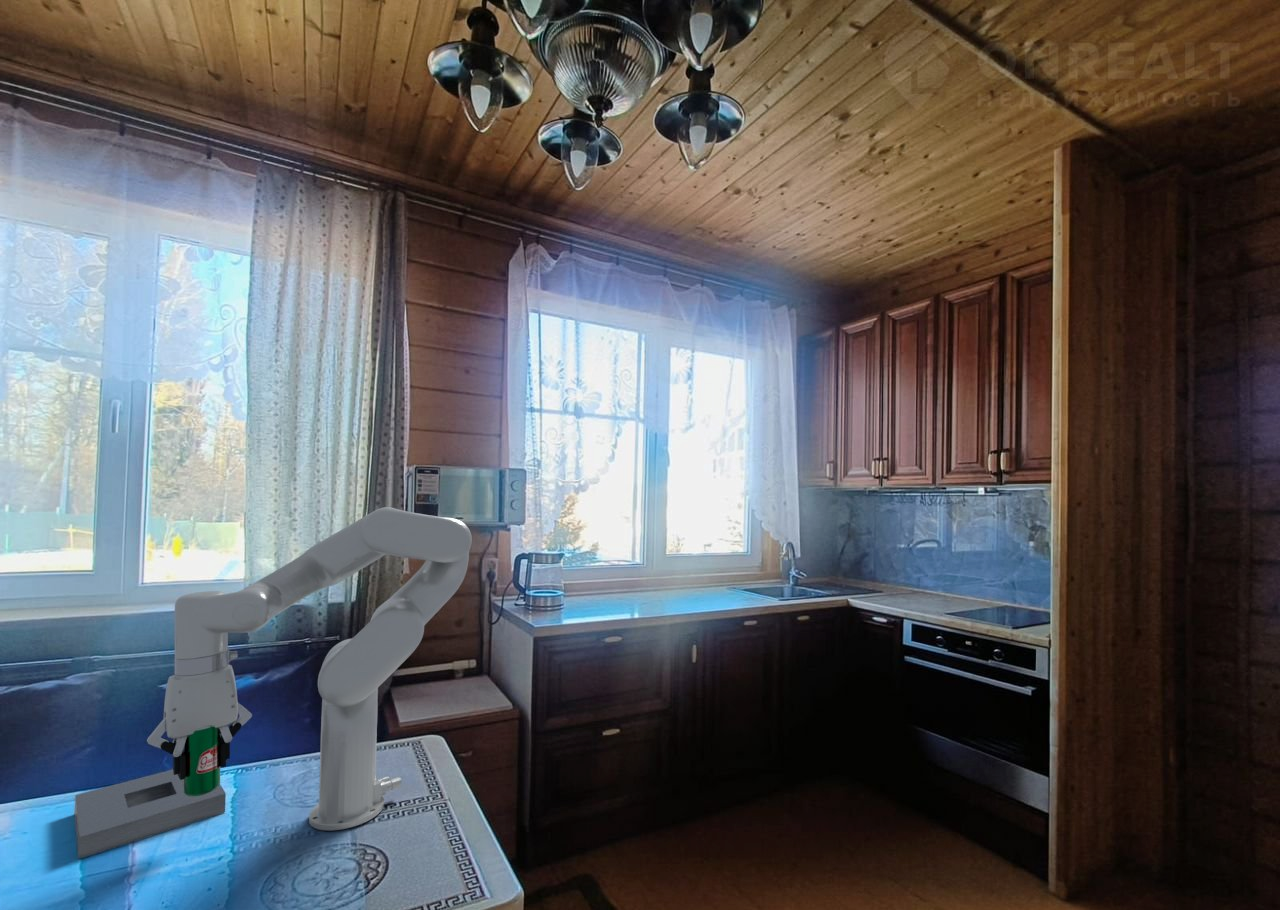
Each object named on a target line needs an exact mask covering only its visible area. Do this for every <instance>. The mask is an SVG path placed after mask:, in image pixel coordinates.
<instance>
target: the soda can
mask: <svg viewBox="0 0 1280 910" xmlns="http://www.w3.org/2000/svg"><path fill="white" fill-rule="evenodd" d="M220 737H221V735H220V729H219V728H215V726H212V725H206V726H202V727H200V728H198V729H197V730H196V731H194V733H193V734H192V735H190V736H187V738H186V742H185V745H184V748H183V750H184V754H185V755H186V778H184V793H185V794H186V795H188V796H200V795H204V794H207V793H209V792H211V791H213V790H215V789H216V788H217V787H218V785H219V784H220V785H221V767H220Z"/></svg>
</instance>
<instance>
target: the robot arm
mask: <svg viewBox="0 0 1280 910" xmlns="http://www.w3.org/2000/svg"><path fill="white" fill-rule="evenodd" d="M472 541H473V538H472V533H471V531H470V528H469V527H468V525H467V524H465V522H463V521H461V520H460V519H456V518H453V517H446V516H445V517H442V516H436V515H431V514H430V515H428V514H423V513H417V512H413V511H412V512H411V511H407V510H402V509H398V508H395V507H390V506H386V507H385V506H384V507H380V508H378V509H375V510H374V511H372V512H370V513H368V514H366V515H365V516H363V517H361V518H359V519H358V520H356V521H354V522H352V523H351V524H349V525H347V526H345V527H344V528H342V529H340V530H339V531H337V532H336V533H335V532H334V533H333V534H332V535H330V536H328V537H326V538H324V539H323V540H321V541H319V542H318V543H316V544H314V545H313V546H311V547H310V548H308V549H307V550H306V551H304V553H302V554H301V555H299V556H298V557H296V558H295V559H293V560H292V561H290V562H289V563H286V564H285V565H283V566H282V567H280V568H278V569H277V570H275V571H273V572H270V573H269V574H267V575H266V576H264V577H262V578H261V579H258V580H257V581H256V582H253V583H252V584H250V585H248V586H246V587H244V588H243V589H241V590H238V591H235V592H231V593H230V592H229V593H225V592H223V591H218V590H213V591H212V590H209V591H207V590H206V591H200V592H199V591H198V592H192V593H187V594H184V595H182V596H180V597H178V598H177V599H176V601H175V603H174V674H173V675H170V676H169V677H168V679H167V683H166V684H167V685H166V688H165V694H164V695H165V696H164V705H163V706H164V707H163V718H162V720H161V721H160V722H159V724H158V725H157V726H156V728H154V730H153V731H152V732H151V734H150V735H149V736H148V737H147V739H146V742H147V744H148V745H151V746H153V747H155V748H158V749H161V750H162V751H165V752H166V753H168V754H170V755H171V756H173V757H172V759H173V760H172V764H173V765H172V769H173V773H174V775H176V774H178V777H179V779H180V780H183V779H184V778H186V755H185V754H184V745H185V742H186V738H187V736H190V735H192V734H193V733H194V731H196V730H197V729H198V728H200V727H202V726H206V725H212V726H215V728H219V729H220V768H225V767H227V760H229V759H230V758H231V746H230V745H231V741H232V740H233V738H234V737H235V735H236V734H237V733H238V732H239V731H240V730H241V728H242V726H244V725H245V724H246V723H247V722H248V721H249V720H250V719H251V718H252V717H253V714H252V713H251V712H250V711H249V710H248V709H247V708H245V707H244V706H243V705H242V704H240V702H238V693H237V692H238V690H237V685H236V684H237V683H236V677H235V672H234V668H233V665H232V664H230V662H231V661H233V660H236V659H238V655H239V654H238V651H237V650H234V651H232V650H230V649H229V645H228V644H229V641H228V640H229V638H228V637H229V633H231V634H232V633H233V634H234V633H235V634H244V633H252V632H253V633H254V632H256V631H258V630H260V629H262V628H264V627H265V626H266V625H268V624H269V622H270V621H271V620H272V619H273V618H274V617H276V616H277V615H279V614H281V613H282V612H284V611H285V610H287V609H289V608H290V607H292V606H293V605H295V604H296V603H299V602H300V601H302V600H304V599H305V598H307V597H309V596H310V595H313V594H314V593H316V592H318V591H320V590H323V589H326V588H328V587H333V586H335V585H338V584H339V583H341V582H343V581H345V580H347V579H348V578H349V577H351V576H353V575H355V574H357V573H358V572H359V571H361V570H363V569H364V568H366V567H368V566H370V565H371V564H372V563H374V562H376V561H377V560H379V559H381V558H382V557H384V556H385V555H387V556H388V555H389V556H393V557H399V558H405V559H413V560H419V561H420V560H421V561H424V563H423V565H422V566H421V567H420V568H419V569H418V570H417V572H415V573H414V574H413V575H412V576H411V578H410V579H408V581H406V583H404V584H403V585H402V587H400V588H399V589H398V590H396V592H394V594H393V595H392V596H390V597H389V598H388V599H387V600H386V601H384V602H383V603H382V604H381V605H379V606H378V607H377V608H376V609H375V610H374V612H373V614H372V616H371V618H370V621H369V622H368V623H367V624H366V625H365V626H364V627H363V628H361V630H359V632H358V633H356V635H354V636H353V637H352V638H347V639H344V640H342V641H340V642H338V643H337V644H335V645H334V646H333V647H331V649H330V650H329V651H328V653H327V654H326V656H325V657H324V659H323V662H322V665H321V667H320V670H319V673H318V678H317V688H318V689H317V690H318V693H319V695H320V697H321V698H322V699H321V700H322V701H321V717H320V718H321V723H320V725H321V726H320V753H319V754H320V755H319V756H320V757H319V786H318V787H319V791H318V793H319V794H318V795H319V796H318V803H317V804H316V805H314V807H313V808H312V809H311V810H310V812H308V813H309V814H308V823H309V825H310V827H312V828H314V829H316V830H319V831H328V832H329V831H330V832H331V831H340V830H347V829H350V828H351V829H352V828H354V827H357V826H360V825H363V824H365V823H367V822H369V821H370V820H372V819H374V818H375V817H377V816H378V815H379V813H381V812H382V810H383V809H384V806H385V797H384V795H386V792H389V791H395V790H396V789H400V788H401V787H402V779H401V777H400V776H398V777H395V778H394V777H393V778H391V779H390V777H389V776H388V775H387V776H385V777H382V778H379V779H377V777H376V776H377V743H378V742H377V740H378V739H377V738H378V737H377V736H378V734H377V732H378V731H377V730H378V729H377V728H378V707H379V703H378V697H379V687H380V686H381V685H382V684H383V683H384V682H385V681H386V680H388V678H390V676H391V675H393V673H394V672H395V671H396V670H397V669H398V668H399V667H401V665H402V664H403V663H404V662H405V661H406V660H407V659H409V657H410V656H411V655H412V654H413V653H414V652H415V650H416V649H417V648H418V647H419V645H420V643H421V641H422V639H423V637H424V634H425V633H424V632H425V626H426V625H427V624H428V622H429V621H431V619H432V618H433V617H434V616H435V615H436V614H437V613H438V612H439V611H440V610H441V608H442V607H443V606H444V605H445V604H447V602H448V601H449V600H450V599H451V598H452V597H453V596H454V595H455V593H456V592H457V591H458V590H459V588H460V586H461V585H462V584H463V581H464V580H465V577H466V575H467V574H466V573H467V571H468V565H469V561H470V560H469V558H470V549H471V547H472ZM165 733H166V736H167V737H168V738H169V739H172V741H170V740H168V739H165V738H162V736H163V735H164V734H165Z"/></svg>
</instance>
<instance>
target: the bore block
mask: <svg viewBox="0 0 1280 910" xmlns="http://www.w3.org/2000/svg"><path fill="white" fill-rule="evenodd" d="M226 795H227V793H226V791H225V790H224V788H223V787H222V785H221V783H220V784H219V785H218V787H217V788H216V789H215V790H213V791H211V792H209V793H207V794H204V795H200V796H188V795H186V794H185V793H184V779H183V780H180V779H179V777H178V774H176V775H174V773H173V768H172V769H168V770H166V771H161V772H157V773H154V774H149V775H146V776H143V777H142V776H141V777H139V778H135V779H131V780H127V781H123V782H120V783H116V784H112V785H109V786H104V787H100V788H97V789H92V790H89V791H85V792H82V793H81V792H80V793H79V794H75V795H74V811H73V812H74V814H73V816H75V817H74V826H75V835H76V836H75V837H76V846H77V857H78V860H82V859H84V858H87V857H89V856H90V857H91V856H94V855H96V854H99V853H103V852H106V851H109V850H112V849H116V848H119V847H122V846H124V845H128V844H131V843H134V842H137V841H141V840H144V839H148V838H149V837H152V836H153V837H154V836H156V835H159V834H163V833H165V832H166V833H167V832H169V831H172V830H175V829H178V828H181V827H184V826H187V825H188V826H189V825H190V824H193V823H196V822H199V821H200V822H201V821H203V820H206V819H209V818H213V817H215V816H218V815H221V814H225V813H226V799H227V798H226ZM224 812H225V813H224Z"/></svg>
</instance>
